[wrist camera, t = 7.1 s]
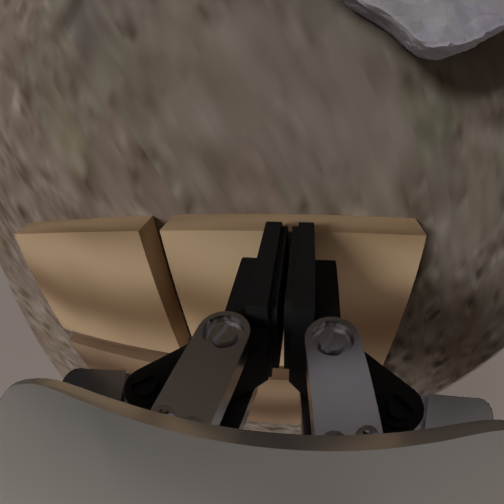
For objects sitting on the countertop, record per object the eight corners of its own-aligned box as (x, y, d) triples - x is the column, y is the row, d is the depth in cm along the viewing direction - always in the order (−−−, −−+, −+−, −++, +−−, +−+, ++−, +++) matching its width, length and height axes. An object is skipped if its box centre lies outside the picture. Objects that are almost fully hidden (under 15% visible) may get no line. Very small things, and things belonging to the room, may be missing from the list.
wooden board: (73, 321, 19) (64, 333, 18) (383, 354, 15) (386, 373, 14) (112, 376, 23) (106, 388, 22) (357, 409, 19) (358, 424, 18)
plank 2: (173, 214, 12) (159, 230, 11) (414, 218, 10) (426, 235, 9) (206, 339, 16) (199, 357, 15) (379, 347, 14) (381, 367, 13)
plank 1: (28, 222, 14) (14, 234, 13) (153, 215, 12) (138, 231, 11) (73, 316, 18) (64, 328, 17) (190, 337, 16) (183, 355, 15)
